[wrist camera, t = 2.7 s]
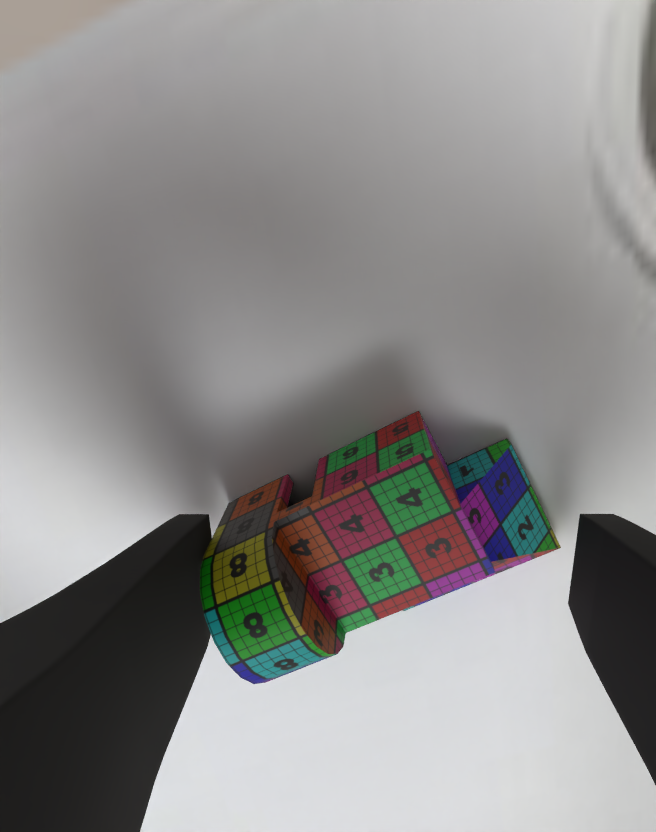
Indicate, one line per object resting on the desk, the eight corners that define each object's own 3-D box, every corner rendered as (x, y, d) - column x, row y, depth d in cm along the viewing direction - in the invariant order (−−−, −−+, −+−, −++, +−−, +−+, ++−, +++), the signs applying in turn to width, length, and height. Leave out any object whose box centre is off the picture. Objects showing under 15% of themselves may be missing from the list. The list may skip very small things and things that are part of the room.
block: (317, 635, 13) (304, 767, 10) (228, 503, 12) (181, 601, 9) (555, 539, 12) (625, 653, 9) (479, 381, 11) (527, 446, 8)
